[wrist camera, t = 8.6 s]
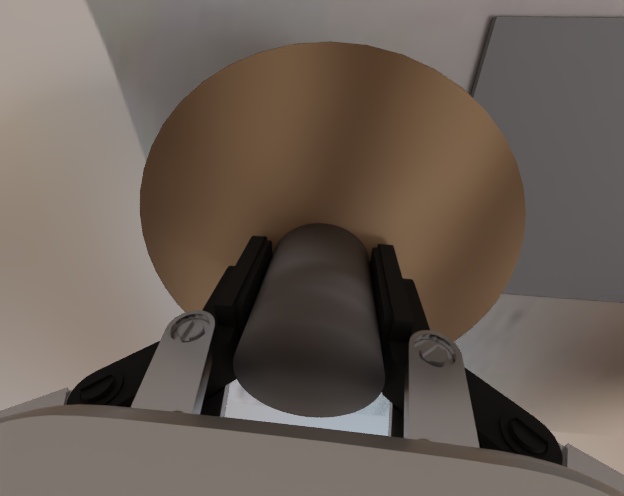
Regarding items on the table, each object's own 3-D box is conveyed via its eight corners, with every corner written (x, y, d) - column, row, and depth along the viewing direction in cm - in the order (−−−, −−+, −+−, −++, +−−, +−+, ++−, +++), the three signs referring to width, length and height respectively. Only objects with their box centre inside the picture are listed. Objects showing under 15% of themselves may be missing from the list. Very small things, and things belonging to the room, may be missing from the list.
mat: (883, 21, 14) (899, 20, 14) (638, 300, 24) (643, 304, 24) (492, 18, 15) (497, 16, 15) (416, 283, 26) (417, 287, 25)
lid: (599, 49, 8) (1059, 9, 3) (448, 371, 16) (496, 511, 11) (97, 40, 9) (-227, 0, 4) (194, 346, 17) (131, 463, 12)
